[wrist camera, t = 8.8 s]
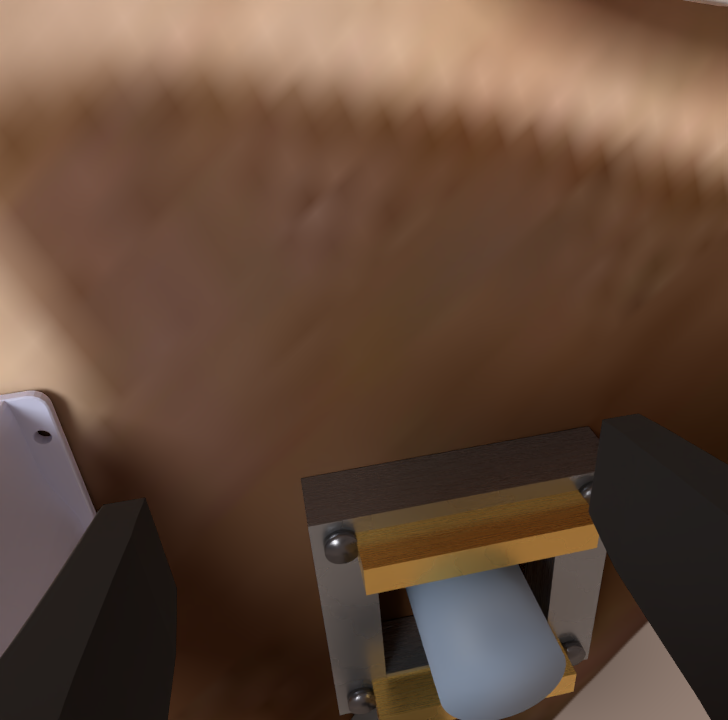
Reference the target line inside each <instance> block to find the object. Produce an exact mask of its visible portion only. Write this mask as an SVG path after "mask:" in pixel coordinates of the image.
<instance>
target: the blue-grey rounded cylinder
mask: <svg viewBox="0 0 728 720" xmlns="http://www.w3.org/2000/svg"><path fill="white" fill-rule="evenodd" d="M406 591H407V594H408V597H409V600H410V604H411V607H412V610H413V614H414V617H415V620H416V624H417V627H418V630H419V634H420V637H421V640H422V643H423V647H424V650H425V653H426V657H427V660H428V663H429V667H430V670H431V673H432V676H433V680H434V683H435V686H436V690H437V693H438V696H439V700H440V703H441V705H442V707H443V708H444V710H445V711H446V712H447V713H448V714H450V715H452V716H453V717H455V718H458V719H461V720H499V719H503V718H506V717H510V716H513V715H515V714H518V713H520V712H523V711H525V710H527V709H529V708H530V707H532V706H534V705H536V704H537V703H539V702H540V701H541V700H543V699H544V698H545V697H547V696H548V695H549V694H550V693H551V692H552V691H553V690H554V689H555V688H556V686H557V685H558V684H559V682H560V681H561V679H562V677H563V675H564V672H565V667H566V660H565V656H564V654H563V652H562V650H561V648H560V646H559V644H558V642H557V640H556V638H555V636H554V634H553V632H552V630H551V628H550V626H549V624H548V622H547V620H546V618H545V616H544V614H543V612H542V610H541V609H540V607H539V605H538V603H537V601H536V599H535V597H534V595H533V593H532V591H531V589H530V587H529V585H528V583H527V581H526V579H525V577H524V575H523V573H522V571H521V569H520V567H519V565H518V564H516V565H511V566H507V567H502V568H497V569H492V570H487V571H482V572H478V573H473V574H468V575H463V576H458V577H453V578H448V579H444V580H439V581H434V582H429V583H424V584H419V585H415V586H410V587H406Z"/></svg>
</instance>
